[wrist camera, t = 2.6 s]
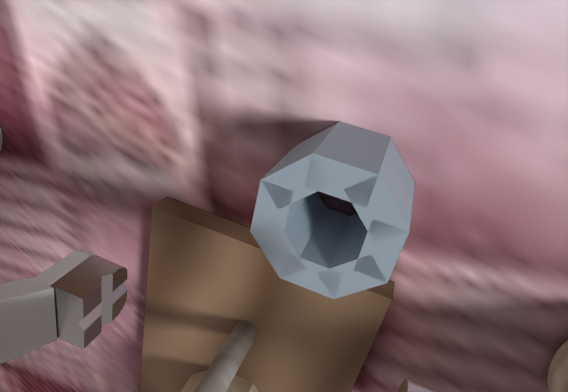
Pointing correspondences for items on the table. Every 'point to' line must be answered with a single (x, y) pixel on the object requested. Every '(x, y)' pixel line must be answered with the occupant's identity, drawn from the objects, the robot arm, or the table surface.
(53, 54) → the table surface
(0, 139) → the cup
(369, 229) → the loose gear
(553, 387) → the stacking toy
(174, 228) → the gear board
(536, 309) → the table surface
